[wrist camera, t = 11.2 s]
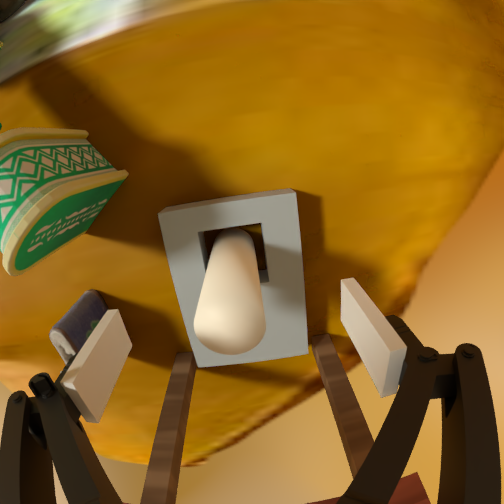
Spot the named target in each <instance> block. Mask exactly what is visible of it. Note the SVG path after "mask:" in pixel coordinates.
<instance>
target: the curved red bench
mask: <svg viewBox="0 0 504 504" xmlns="http://www.w3.org/2000/svg"><path fill="white" fill-rule="evenodd" d="M312 351H313V353H314V356H315V359H316V362H317V365H318V368H319V372H320V375H321V378H322V381H323V384H324V387H325V390H326V393H327V396H328V399H329V402H330V405H331V408H332V411H333V415H334V418H335V421H336V424H337V427H338V430H339V434H340V437H341V440H342V443H343V447H344V450H345V453H346V456H347V460H348V462H349V466H350V469H351V473H352V476H353V479H354V478H355V476H356V474H357V473H358V471H359V469H360V467H361V466H362V464H363V462H364V460H365V459H366V457H367V455H368V453H369V451H370V449H371V447H372V445H373V444H374V440H373V438H372V435H371V433H370V431H369V428H368V425H367V423H366V420H365V418H364V416H363V413H362V411H361V408H360V406H359V403H358V401H357V399H356V396H355V394H354V392H353V389H352V387H351V384H350V382H349V380H348V377H347V375H346V373H345V370H344V368H343V366H342V363H341V361H340V359H339V357H338V354H337V352H336V350H335V347H334V345H333V343H332V341H331V338H330V336H329V334H323V335H317V336H312ZM196 366H197V363H196V360H195V357H194V354H193V352H184V353H177V354H176V358H175V361H174V365H173V369H172V372H171V376H170V380H169V384H168V387H167V391H166V395H165V399H164V403H163V407H162V411H161V415H160V419H159V423H158V427H157V431H156V435H155V439H154V443H153V448H152V452H151V456H150V461H149V465H148V470H147V474H146V479H145V484H144V488H143V493H142V498H141V503H140V504H175V502H176V495H177V487H178V479H179V473H180V465H181V458H182V452H183V445H184V438H185V432H186V425H187V419H188V413H189V407H190V401H191V395H192V389H193V383H194V377H195V372H196ZM339 498H340V497H336V498H332V499H327V500H323V501H318V502H312V503H307V504H336V503H337V501H338V500H339ZM123 504H128V503H123ZM388 504H431V503H430V501H429V498H428V496H427V494H426V491H425V489H424V487H423V484H422V482H421V480H420V478H419V475H418V473H417V472H416V473H413V474H411V475H408V476H406V477H403V478H400V480H399V482H398V485H397V487H396V489H395V491H394V493H393V495H392V497H391V499H390V501H389V503H388Z"/></svg>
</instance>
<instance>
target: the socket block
mask: <svg viewBox="0 0 504 504" xmlns="http://www.w3.org/2000/svg"><path fill="white" fill-rule="evenodd" d="M158 218H159V223H160V227H161V232H162V236H163V241H164V245H165V250H166V254H167V258H168V262H169V266H170V271H171V275H172V278H173V282H174V286H175V290H176V294H177V298H178V301H179V305H180V309H181V312H182V316H183V319H184V323H185V326H186V330H187V333H188V336H189V340H190V343H191V346H192V350H193V353H194V356H195V359H196V362H197V365H198V367H210V366H221V365H231V364H240V363H249V362H257V361H264V360H272V359H278V358H285V357H291V356H298V355H304V354H308V338H307V319H306V302H305V287H304V274H303V261H302V249H301V238H300V227H299V217H298V207H297V198H296V192H295V191H293V190H292V189H291V188H289V189H281V190H273V191H265V192H258V193H251V194H243V195H237V196H230V197H223V198H217V199H211V200H204V201H198V202H192V203H187V204H181V205H175V206H170V207H165V208H164V209H163V210H162V211H160V212H159V213H158ZM256 223H261V229H262V236H263V244H264V252H265V259H266V267H267V269H266V270H259V271H258V274H259V280H260V287H261V293H262V300H263V307H264V313H265V320H266V331H265V334H264V337H263V339H262V340H261V342H260V343H259V344H258V345H257V346H256V347H254V348H253V349H251V350H250V351H248V352H245V353H242V354H237V355H225V354H220V353H216V352H214V351H212V350H210V349H208V348H207V347H205V346H204V345H203V344H202V343H201V342H200V341H199V339H198V338H197V336H196V334H195V331H194V318H195V314H196V310H197V306H198V302H199V298H200V294H201V290H202V286H203V282H204V278H205V274H206V270H207V267H208V263H209V259H208V254H207V249H206V244H205V238H204V233H203V231H208V230H214V229H221V228H228V227H235V226H242V225H249V224H256Z"/></svg>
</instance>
